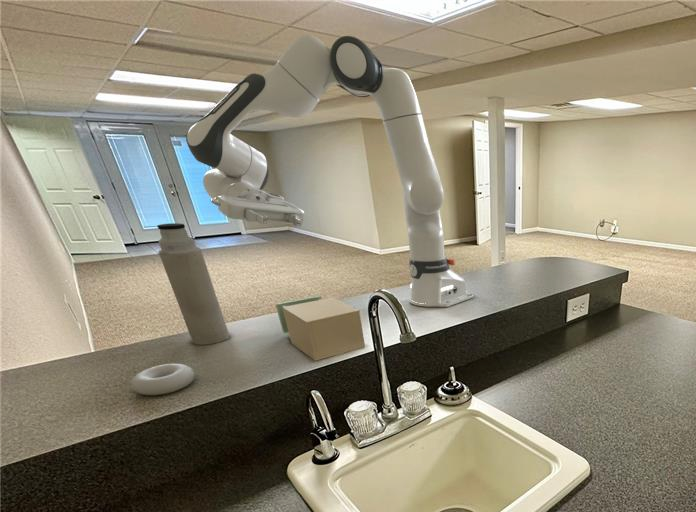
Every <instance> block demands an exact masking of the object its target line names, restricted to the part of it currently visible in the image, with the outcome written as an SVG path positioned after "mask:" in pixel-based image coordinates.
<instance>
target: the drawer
mask: <svg viewBox="0 0 696 512" xmlns="http://www.w3.org/2000/svg"><path fill="white" fill-rule="evenodd" d="M322 299H323V298H322V295H315V296H309V297H304V298H298V299H292V300H287V301H282V302H277V303H275V308H276V312H277V315H278V319H279V324H280V327H281V331H282V333H284V334H287V333H289V331H288V328H287V324H286V320H285V316H284V312H283V308H282V307H286V306H291V305H296V304H301V303H306V302H312V301H317V300H322Z"/></svg>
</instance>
